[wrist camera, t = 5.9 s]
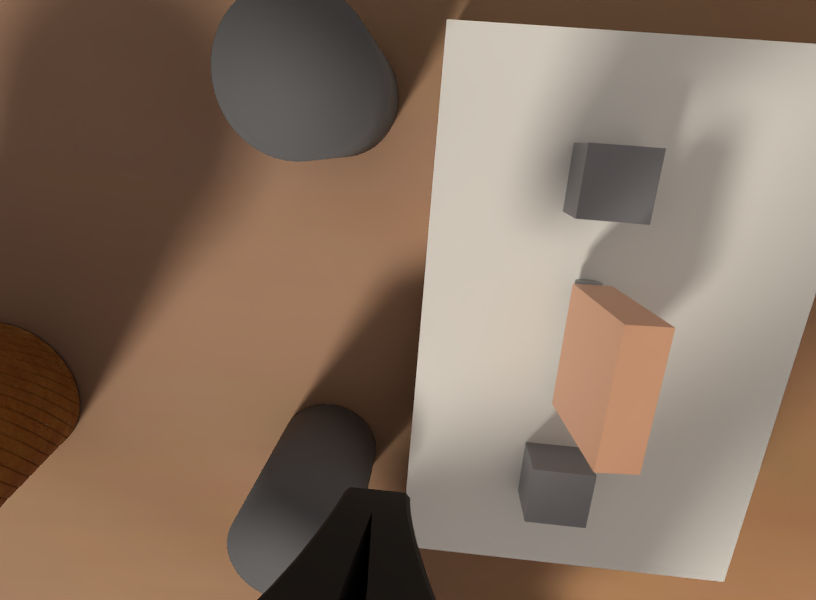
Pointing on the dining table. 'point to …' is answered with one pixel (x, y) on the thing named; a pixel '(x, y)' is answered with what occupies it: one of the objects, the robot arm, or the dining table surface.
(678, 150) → the panel
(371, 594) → the robot arm
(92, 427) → the dining table surface
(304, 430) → the post
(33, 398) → the disposable coffee cup
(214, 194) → the dining table surface
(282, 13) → the post
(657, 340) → the tan rectangular block
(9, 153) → the dining table surface
